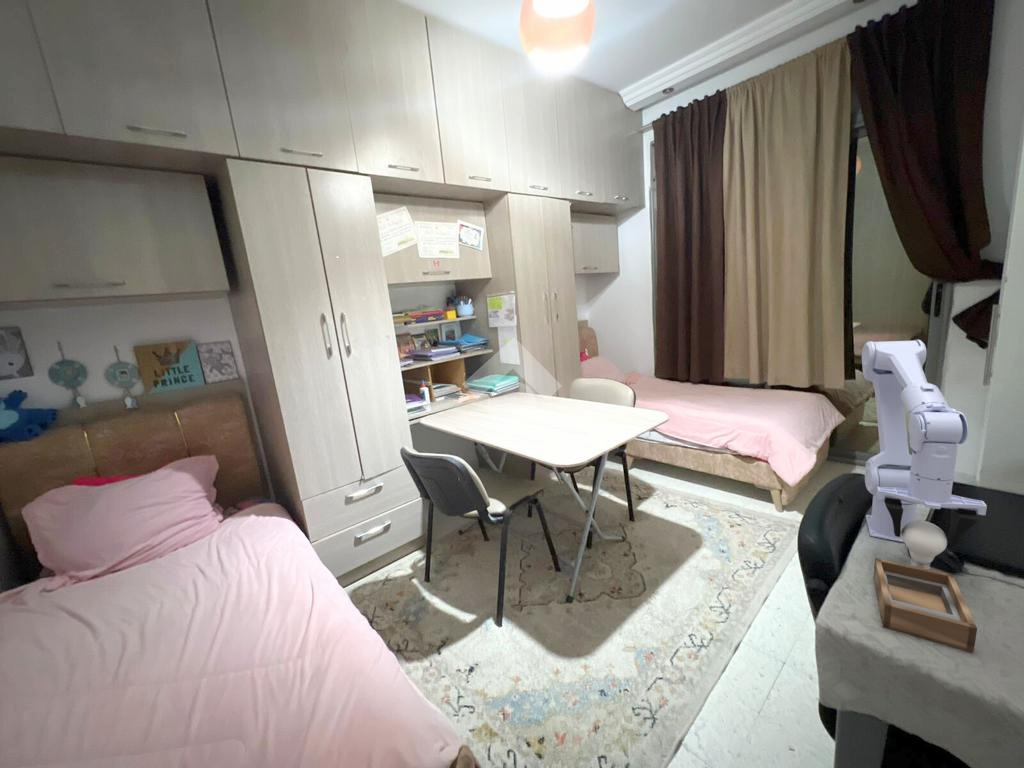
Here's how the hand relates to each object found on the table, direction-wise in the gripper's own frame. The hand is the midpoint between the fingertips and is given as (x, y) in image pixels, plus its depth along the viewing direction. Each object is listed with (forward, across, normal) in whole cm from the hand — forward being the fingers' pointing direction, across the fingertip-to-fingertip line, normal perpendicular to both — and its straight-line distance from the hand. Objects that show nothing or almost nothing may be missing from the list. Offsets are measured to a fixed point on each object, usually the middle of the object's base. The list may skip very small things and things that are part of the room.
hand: (923, 539), depth 80 cm
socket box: (+8, -2, -12) cm, 15 cm away
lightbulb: (+8, 0, 0) cm, 8 cm away
